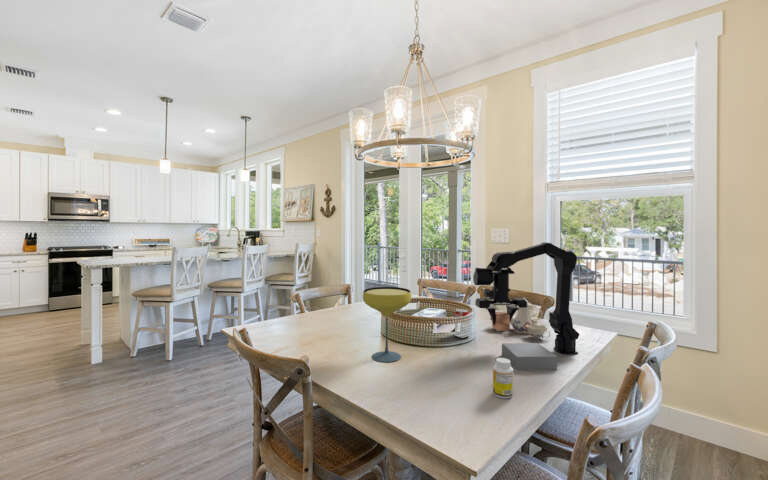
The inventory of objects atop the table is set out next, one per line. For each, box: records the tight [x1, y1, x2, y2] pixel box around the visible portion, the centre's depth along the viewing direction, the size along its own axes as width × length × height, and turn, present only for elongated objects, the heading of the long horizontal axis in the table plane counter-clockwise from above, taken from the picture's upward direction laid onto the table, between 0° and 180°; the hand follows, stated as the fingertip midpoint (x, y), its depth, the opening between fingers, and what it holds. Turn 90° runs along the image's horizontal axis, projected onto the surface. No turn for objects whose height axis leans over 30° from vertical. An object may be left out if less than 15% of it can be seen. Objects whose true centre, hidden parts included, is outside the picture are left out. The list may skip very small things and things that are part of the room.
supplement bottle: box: [492, 357, 514, 400], centre depth 101 cm, size 6×6×10 cm
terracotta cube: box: [491, 311, 511, 332], centre depth 136 cm, size 5×5×6 cm
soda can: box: [453, 308, 470, 318], centre depth 155 cm, size 7×7×12 cm
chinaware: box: [489, 296, 551, 340], centre depth 162 cm, size 28×17×17 cm, turn 49°
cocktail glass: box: [362, 286, 412, 363], centre depth 130 cm, size 18×18×25 cm
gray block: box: [501, 342, 558, 371], centre depth 126 cm, size 14×14×5 cm
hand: (500, 324), depth 136 cm, fingers closed on terracotta cube, 5 cm apart
